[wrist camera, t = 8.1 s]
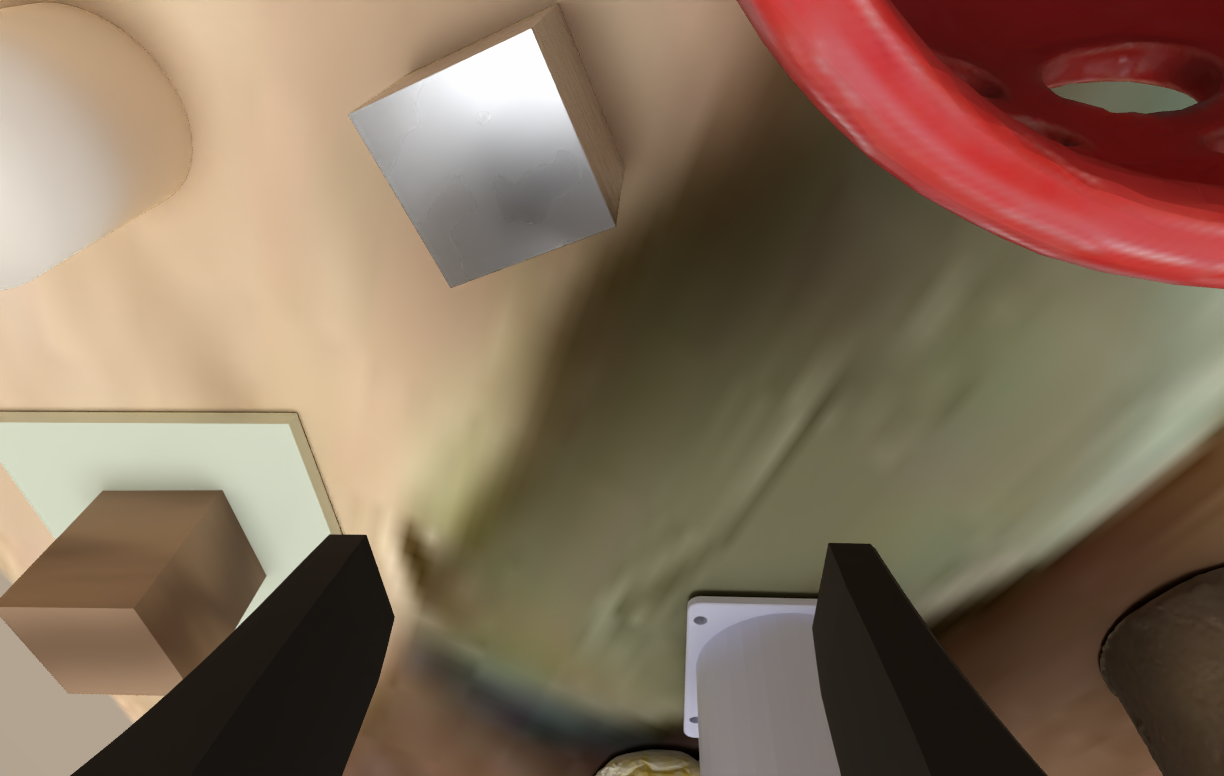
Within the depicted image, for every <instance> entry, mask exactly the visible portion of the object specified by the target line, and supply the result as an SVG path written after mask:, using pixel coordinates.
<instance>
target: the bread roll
mask: <svg viewBox="0 0 1224 776" xmlns="http://www.w3.org/2000/svg"><path fill="white" fill-rule="evenodd" d="M596 776H700V760H699V761H696V760H695V759H694V758H692V757H691V756H690V755H688V754H686V753H683V752H681V751H675V750H644V751H638V752H633V753H628V754H624V755H620V756H617V757H616V758H614V759H613V760H611V761H610V762H609V763H608V764H607V765H606V766H605V767H604V768H602V769H601V770H599V771H598V772H597V774H596Z"/></svg>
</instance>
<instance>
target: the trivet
mask: <svg viewBox="0 0 1224 776" xmlns="http://www.w3.org/2000/svg"><path fill="white" fill-rule="evenodd" d="M0 462H1V464H2V465H3V467H4V468H5V469H6V471H7V472H8V474H9V475H10V476H11V478H12V479H13V481H14V482H15V483H16V485H17V486H18V488H19V489H20V491H21V492H22V493H23V495H24V496H25V498H26V499H27V500H28V502H29V503H30V505H31V506H32V507H33V509H34V510H35V512H36V513H37V514H38V516H39V517H40V519H41V520H42V521H43V523H44V524H45V526H46V527H47V528H48V530H49V531H50V533H51V534H52V535H53V537H54V538H55V540H56V539H57V538H58V537H59V536H60V535H61V534H62V533H63V532H64V531H65V530H66V529H67V527H68V526H69V525H70V524H71V523H72V522H73V521H74V520H75V519H76V518H77V517H78V516H79V515H80V514H81V513H82V512H83V511H84V510H85V509H86V508H87V507H88V505H89V504H90V503H91V502H92V501H93V500H94V499H95V498H96V497H97V496H98V495H99V494H100V493H101V492H102V491H135V490H223V492H224V494H225V496H226V498H227V500H228V502H229V504H230V506H231V508H232V510H233V512H234V513H235V515H236V517H237V519H238V521H239V523H240V525H241V527H242V529H243V531H244V533H245V535H246V537H247V539H248V541H249V543H250V545H251V547H252V548H253V550H254V552H255V554H256V556H257V558H258V560H259V562H260V564H261V566H262V568H263V570H264V572H265V574H266V578H265V580H264V581H263V583H262V585H261V586H260V588H259V590H258V591H257V593H256V595H255V596H254V598H253V600H252V602H251V603H250V605H249V607H248V608H247V610H246V612H245V613H244V615H243V617H242V618H241V620H240V622H239V624H238V625H237V627H238V626H239V625H240V624H241V623H242V622H243V621H244V620H245V619H246V618H247V617H248V616H249V615H250V614H251V613H252V612H253V611H254V610H255V609H256V608H257V607H258V606H259V605H260V604H261V603H262V602H263V601H264V600H265V599H266V598H267V597H268V596H269V595H270V594H271V593H272V592H273V591H274V590H275V589H276V588H277V587H278V586H279V585H280V584H281V583H282V582H283V581H284V580H285V579H286V578H287V577H288V576H289V575H290V574H291V573H292V571H293V570H294V569H295V568H296V567H297V566H298V565H299V564H300V563H301V562H302V561H303V560H304V559H305V558H306V557H307V556H308V555H309V554H310V553H311V552H312V551H313V550H314V549H315V548H316V547H317V546H318V545H319V544H320V543H321V542H322V541H323V540H324V539H325V538H326V537H327V536H328V535H329V534H341V535H342V533H341V530H340V528H339V525H338V522H337V520H336V517H335V514H334V512H333V509H332V506H331V504H330V501H329V498H328V496H327V493H326V490H325V488H324V485H323V482H322V479H321V477H320V474H319V471H318V469H317V466H316V463H315V461H314V458H313V455H312V453H311V450H310V447H309V445H308V442H307V439H306V437H305V434H304V431H303V429H302V426H301V423H300V421H299V418H298V415H297V413H212V412H0ZM237 627H236V628H237Z"/></svg>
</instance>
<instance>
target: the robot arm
mask: <svg viewBox="0 0 1224 776" xmlns="http://www.w3.org/2000/svg"><path fill="white" fill-rule="evenodd" d="M394 618H395V617H394V614H393V611H392V608H391V605H390V602H389V599H388V596H387V593H386V590H385V588H384V585H383V582H382V579H381V576H380V573H379V570H378V567H377V564H376V562H375V559H374V556H373V553H372V550H371V547H370V544H369V541H368V538H367V535H341V534H329V535H328V536H327V537H326V538H325V539H324V540H323V541H322V542H321V543H320V544H319V545H318V546H317V547H316V548H315V549H314V550H313V551H312V552H311V553H310V554H309V555H308V556H307V557H306V558H305V559H304V560H303V561H302V562H301V563H300V564H299V565H298V566H297V567H296V568H295V569H294V570H293V571H292V573H291V574H290V575H289V576H288V577H287V578H286V579H285V580H284V581H283V582H282V583H281V584H280V585H279V586H278V587H277V588H276V589H275V590H274V591H273V592H272V593H271V594H270V595H269V596H268V597H267V598H266V599H265V600H264V601H263V602H262V603H261V604H260V605H259V606H258V607H257V608H256V609H255V610H254V611H253V612H252V613H251V614H250V615H249V616H248V617H247V618H246V619H245V620H244V621H243V622H242V623H241V624H240V625H239V626H238V627H237V628H236V629H235V630H234V631H233V632H232V633H231V634H230V635H229V636H228V637H227V638H226V639H225V640H224V641H223V642H222V643H221V644H220V645H219V646H218V647H217V648H216V649H215V650H214V651H213V652H212V653H211V654H210V655H209V656H208V657H207V658H205V659H204V660H203V661H202V662H201V663H200V664H199V665H198V666H197V667H196V668H195V669H194V670H193V671H191V672H190V673H189V674H188V675H187V676H186V677H185V678H184V679H183V680H182V681H181V682H179V683H178V684H177V685H176V686H175V687H174V688H173V689H172V690H171V691H170V692H169V693H168V694H166V695H165V696H164V697H163V698H162V699H161V700H160V701H159V702H158V703H157V704H156V705H154V706H153V707H152V708H151V709H150V710H149V711H148V712H147V713H145V714H144V715H143V716H142V717H141V718H140V719H138V720H137V721H136V722H135V723H134V724H133V725H132V726H130V727H129V728H128V729H127V730H126V731H125V732H123V733H122V734H121V735H120V736H119V737H118V738H116V739H115V740H114V741H113V742H111V743H110V744H109V745H108V746H106V747H105V748H104V749H103V750H101V751H100V752H99V753H98V754H97V755H95V756H94V757H93V758H92V759H90V760H89V761H88V762H87V763H86V764H84V765H83V766H82V767H80V768H79V769H78V770H77V771H76V772H74V773H73V774H72V775H71V776H342V774H343V771H344V769H345V766H346V764H347V761H348V758H349V756H350V753H351V751H352V748H353V746H354V743H355V741H356V738H357V735H358V733H359V730H360V728H361V725H362V723H363V720H364V717H365V715H366V712H367V709H368V707H369V704H370V702H371V699H372V696H373V694H374V691H375V688H376V686H377V683H378V680H379V677H380V673H381V669H382V666H383V662H384V658H385V654H386V651H387V647H388V642H389V638H390V634H391V630H392V626H393V622H394ZM684 733H685V734H686V735H687V736H689V737H694V738H699V756H700V776H1047V774H1046V773H1045V772H1044V771H1043V770H1042V769H1041V768H1040V767H1039V766H1038V764H1037V763H1036V762H1035V761H1034V760H1033V759H1032V757H1031V756H1030V755H1029V754H1028V753H1027V752H1026V751H1025V749H1024V748H1023V747H1022V746H1021V745H1020V744H1019V742H1018V741H1017V740H1016V739H1015V738H1014V736H1013V735H1012V734H1011V733H1010V732H1009V730H1008V729H1007V728H1006V727H1005V726H1004V724H1003V723H1002V722H1001V721H1000V720H999V718H998V717H997V716H996V715H995V714H994V712H993V711H992V710H991V709H990V708H989V706H988V705H987V704H986V702H985V701H984V700H983V699H982V697H981V696H980V695H979V694H978V692H977V691H976V690H975V689H974V687H973V686H972V685H971V684H970V682H969V681H968V680H967V678H966V677H965V676H964V674H963V673H962V672H961V670H960V669H959V668H958V666H957V665H956V664H955V663H954V661H953V660H952V659H951V657H950V656H949V655H948V653H947V652H946V651H945V649H944V648H943V647H942V645H941V644H940V643H939V641H938V640H937V639H936V637H935V636H934V634H933V633H932V632H931V630H930V629H929V628H928V626H927V625H926V623H925V622H924V620H923V619H922V618H921V616H920V615H919V613H918V612H917V610H916V609H915V608H914V606H913V605H912V603H911V602H910V600H909V599H908V598H907V596H906V595H905V593H904V592H903V590H902V589H901V587H900V586H899V584H898V583H897V581H896V580H895V578H894V577H893V575H892V574H891V572H890V571H889V569H888V568H887V566H886V564H885V563H884V561H883V560H882V558H881V557H880V555H879V554H878V552H877V550H876V549H875V548H874V547H873V546H872V545H871V544H853V543H828V549H827V554H826V559H825V564H824V569H823V574H822V579H821V584H820V589H819V595H818V599H802V598H760V597H717V596H697V597H694V598H692V599H690V600H689V601H688V604H687V634H686V665H685V696H684Z"/></svg>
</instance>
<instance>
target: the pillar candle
mask: <svg viewBox="0 0 1224 776" xmlns="http://www.w3.org/2000/svg"><path fill="white" fill-rule="evenodd" d="M1102 651H1103V653H1101V658H1100V667H1101V674H1102V676H1103V678H1104V681H1105V682H1106V684H1107V686H1108V688H1109V689H1110V691H1111V692H1112V693H1113V694H1114V695H1115V696H1117V697H1118V698H1119V700H1120V702H1121V703H1122V705H1123V707H1124V708H1125V710H1126V711H1127V713H1128V715H1129V717H1130V718H1131V720H1132V722H1133V723H1134V725H1135V727H1136V729H1137V731H1138V733H1139V734H1140V736H1141V738H1142V739H1143V741H1144V743H1145V744H1146V745H1147V747H1148V749H1149V752H1150V754H1151V756H1152V758H1153V759H1154V761H1155V762H1156V764H1157V766H1158V767H1159V769H1160V771H1161V772H1162V774H1163V776H1224V567H1222V568H1220V569H1216V570H1213V571H1210V572H1207V573H1206V574H1200V575H1198V576H1195V577H1193V578H1191V579H1189V580H1188V581H1186V582H1183V583H1181V584H1179V585H1177V586H1175V587H1173V588H1171V589H1170V590H1168V591H1167V592H1165V593H1163V594H1162V595H1160V596H1158V597H1157V598H1155V599H1153V600H1151V601H1150V602H1148V603H1147V604H1145V605H1144V606H1142V607H1141V608H1139V609H1137V610H1136V611H1134V612H1132V613H1131V614H1129V615H1128V616H1126V617H1125V618H1124V619H1123V620H1122V621H1121V622H1120V623H1119V624H1118V625H1117V626H1116V627H1115V630H1114V631H1113V632H1111V633H1110V635H1109V636H1108V638H1107V640H1106V643H1105V645H1104V647H1103V648H1102Z"/></svg>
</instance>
